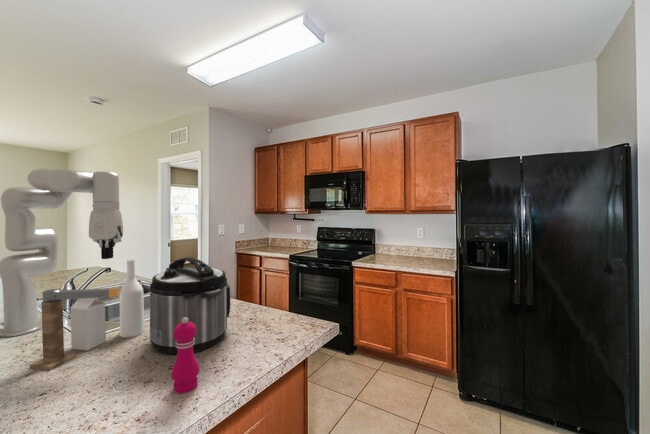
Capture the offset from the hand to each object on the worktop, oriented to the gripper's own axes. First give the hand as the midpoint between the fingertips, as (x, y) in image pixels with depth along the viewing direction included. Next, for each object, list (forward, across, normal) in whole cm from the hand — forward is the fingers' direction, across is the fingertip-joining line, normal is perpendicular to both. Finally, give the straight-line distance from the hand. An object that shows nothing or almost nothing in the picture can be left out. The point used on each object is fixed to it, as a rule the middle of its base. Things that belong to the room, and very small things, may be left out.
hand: (107, 258), depth 104 cm
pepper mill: (+33, +41, -15) cm, 55 cm away
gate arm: (+12, -2, -8) cm, 15 cm away
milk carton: (+33, -10, +1) cm, 34 cm away
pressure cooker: (+33, +24, +13) cm, 43 cm away
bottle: (+33, -3, +13) cm, 36 cm away
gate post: (+33, -10, -11) cm, 36 cm away
